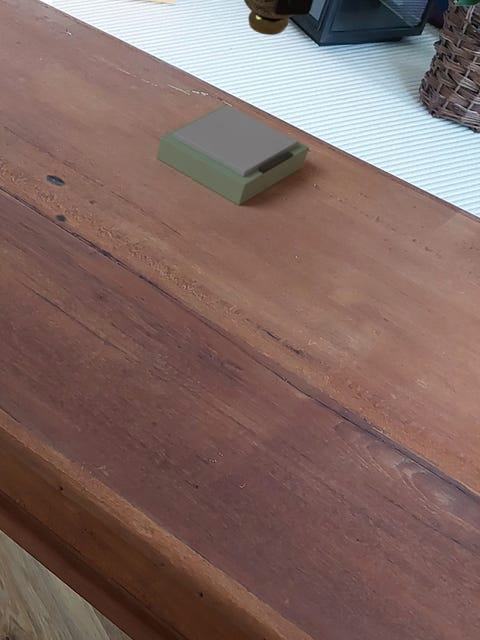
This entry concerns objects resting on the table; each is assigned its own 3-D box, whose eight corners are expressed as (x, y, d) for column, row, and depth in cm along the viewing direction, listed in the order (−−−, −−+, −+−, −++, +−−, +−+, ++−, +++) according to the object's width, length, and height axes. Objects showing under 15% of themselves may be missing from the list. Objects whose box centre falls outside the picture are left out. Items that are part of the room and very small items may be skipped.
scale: (302, 167, 94) (311, 141, 92) (238, 205, 89) (246, 178, 87) (220, 124, 99) (227, 98, 97) (156, 158, 94) (161, 131, 92)
